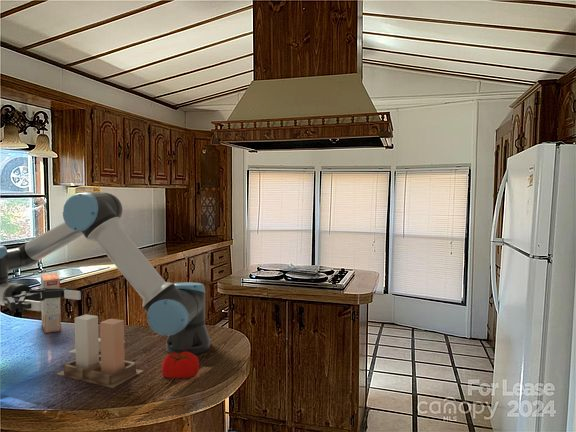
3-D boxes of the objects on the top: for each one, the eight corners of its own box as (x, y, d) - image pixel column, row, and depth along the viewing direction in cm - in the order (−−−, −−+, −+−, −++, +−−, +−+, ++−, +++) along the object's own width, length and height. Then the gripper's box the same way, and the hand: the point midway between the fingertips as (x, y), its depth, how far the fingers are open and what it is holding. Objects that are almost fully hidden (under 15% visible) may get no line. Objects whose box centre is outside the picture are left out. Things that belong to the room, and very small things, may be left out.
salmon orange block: (111, 371, 125) (110, 318, 124) (124, 373, 123) (124, 320, 122) (101, 376, 121) (100, 322, 120) (114, 379, 119) (113, 324, 118)
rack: (55, 378, 123) (55, 365, 123) (89, 363, 134) (89, 351, 134) (112, 393, 114) (112, 379, 114) (143, 375, 125) (143, 362, 125)
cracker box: (62, 331, 164) (60, 278, 163) (44, 334, 160) (42, 280, 159) (58, 321, 175) (56, 272, 174) (41, 324, 172) (39, 274, 171)
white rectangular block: (86, 365, 129) (85, 314, 128) (99, 368, 127) (98, 316, 126) (75, 370, 125) (74, 317, 124) (88, 373, 123) (87, 320, 122)
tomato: (160, 372, 128) (160, 351, 127) (196, 367, 132) (196, 346, 131) (162, 386, 119) (162, 364, 118) (201, 380, 123) (201, 358, 122)
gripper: (50, 297, 148) (94, 302, 140) (-26, 317, 125) (22, 324, 117) (48, 276, 148) (93, 280, 140) (-28, 292, 125) (20, 298, 117)
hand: (61, 300), depth 129 cm, fingers open, 13 cm apart
